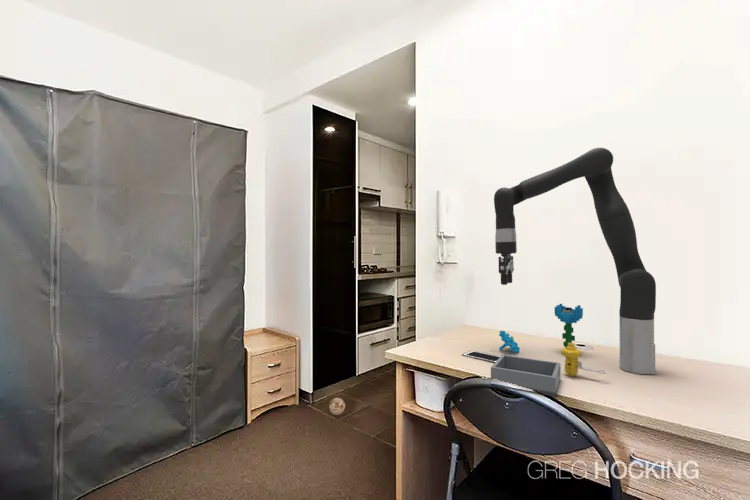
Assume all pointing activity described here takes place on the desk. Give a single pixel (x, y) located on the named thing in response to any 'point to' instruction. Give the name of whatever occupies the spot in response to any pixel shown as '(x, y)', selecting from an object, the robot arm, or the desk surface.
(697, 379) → the desk surface
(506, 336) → the blue blocky piece
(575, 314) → the toy flower
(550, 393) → the bin
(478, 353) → the cell phone
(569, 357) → the pressure relief valve
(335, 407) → the trinket box
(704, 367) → the desk surface
